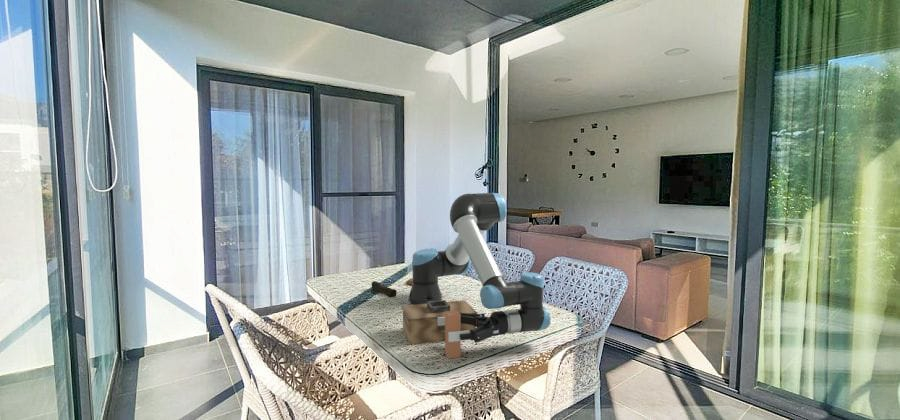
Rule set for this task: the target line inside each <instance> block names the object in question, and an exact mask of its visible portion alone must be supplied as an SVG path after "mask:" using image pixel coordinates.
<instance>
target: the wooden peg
mask: <svg viewBox="0 0 900 420" xmlns="http://www.w3.org/2000/svg"><path fill="white" fill-rule="evenodd" d="M457 331H461V314H460V313H459V312H458V311H457V310H455V311H445V340H444V343H445V345H444V354H445V355H446V357H447V359H455V358H461V354H462V353H461V351H462V350H461V345H462V344H461V343H462V341H454V342H449V341H448V332H457Z"/></svg>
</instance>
